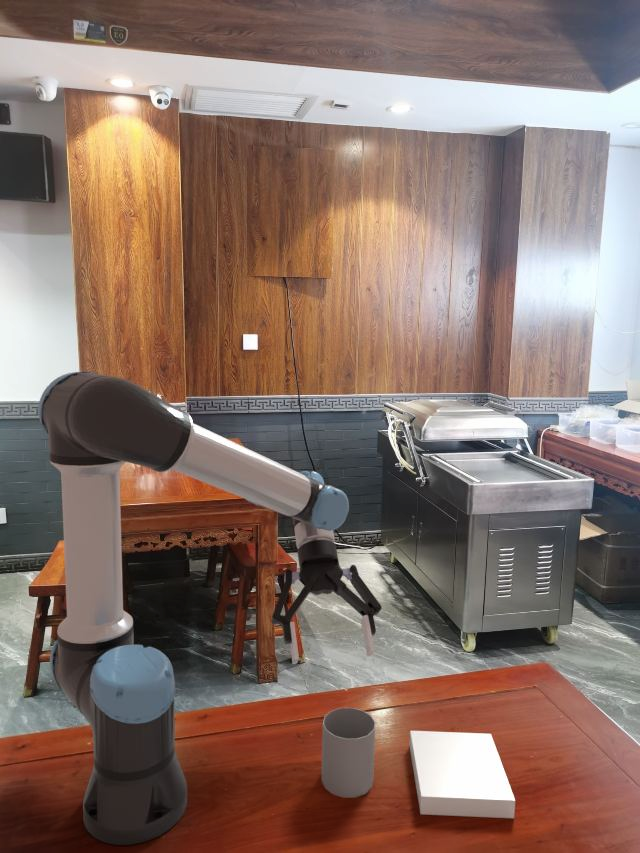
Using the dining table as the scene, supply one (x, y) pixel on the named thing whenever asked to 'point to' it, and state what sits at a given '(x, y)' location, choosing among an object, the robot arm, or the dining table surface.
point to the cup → (348, 752)
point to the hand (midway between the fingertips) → (334, 657)
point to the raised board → (460, 775)
